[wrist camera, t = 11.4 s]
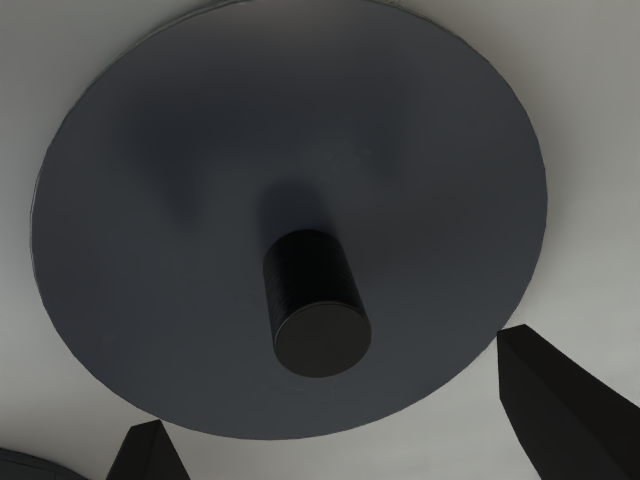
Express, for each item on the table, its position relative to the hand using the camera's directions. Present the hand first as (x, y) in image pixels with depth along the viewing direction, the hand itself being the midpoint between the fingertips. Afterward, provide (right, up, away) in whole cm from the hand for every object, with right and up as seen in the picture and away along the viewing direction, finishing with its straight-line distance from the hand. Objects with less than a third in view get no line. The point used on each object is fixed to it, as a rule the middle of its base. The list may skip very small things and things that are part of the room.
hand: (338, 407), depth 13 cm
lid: (-1, +3, +5) cm, 6 cm away
